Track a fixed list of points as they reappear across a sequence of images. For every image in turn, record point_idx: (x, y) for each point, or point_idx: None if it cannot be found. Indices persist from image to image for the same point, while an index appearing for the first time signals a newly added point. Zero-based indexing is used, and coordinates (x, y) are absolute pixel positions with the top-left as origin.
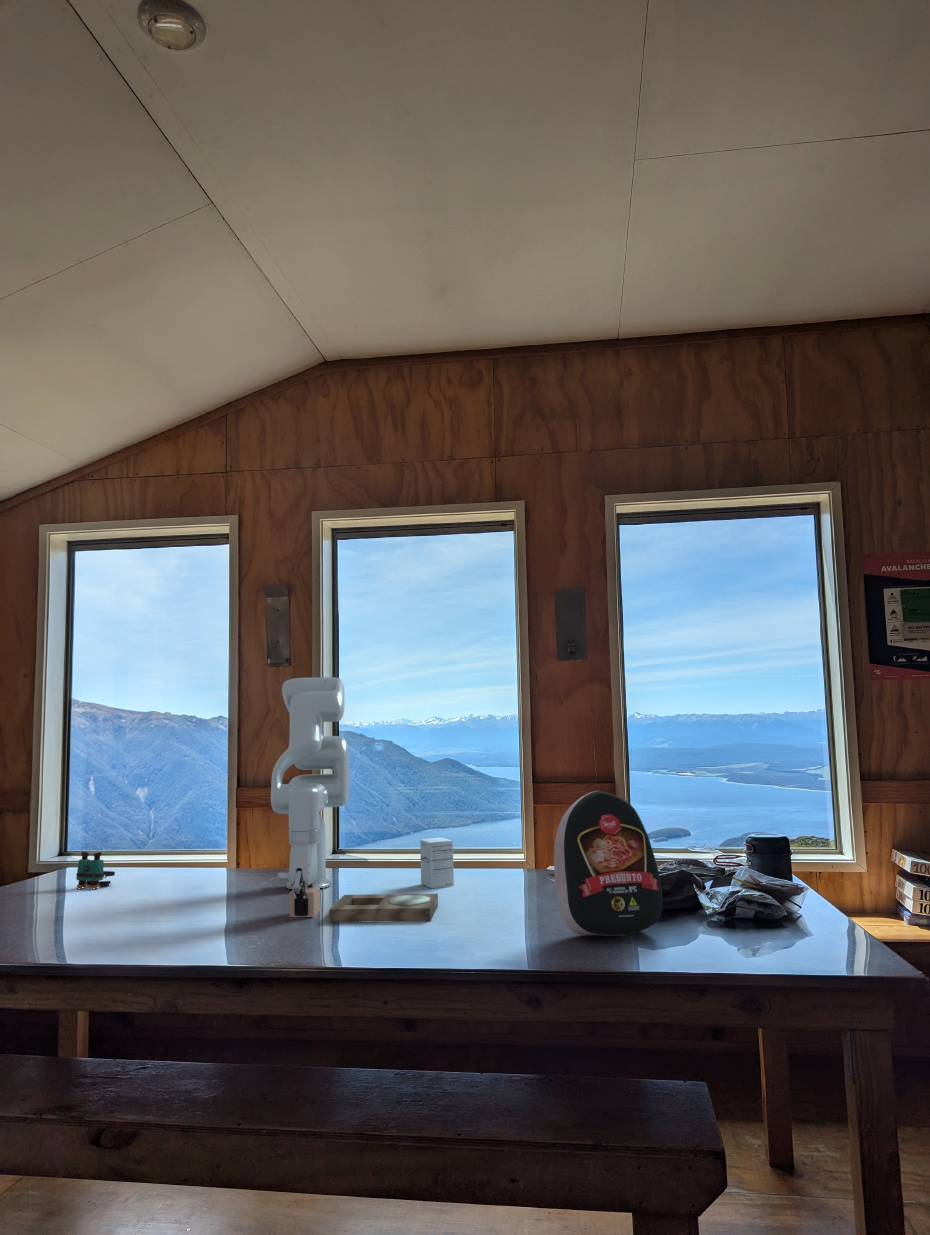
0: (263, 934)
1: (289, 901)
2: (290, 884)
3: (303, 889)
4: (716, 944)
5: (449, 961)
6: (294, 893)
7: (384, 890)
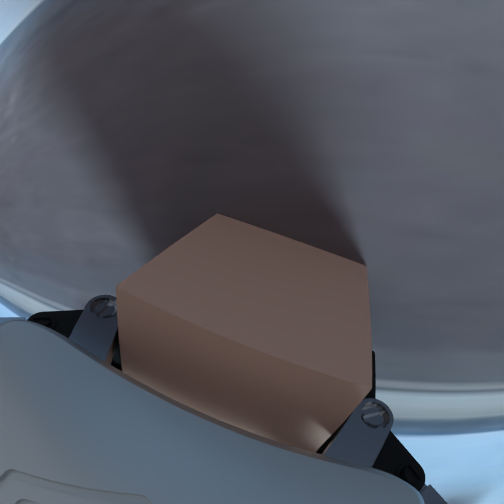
0: (18, 128)
1: (163, 252)
2: (6, 327)
3: (240, 414)
4: None
5: None
6: (123, 322)
7: (482, 492)
